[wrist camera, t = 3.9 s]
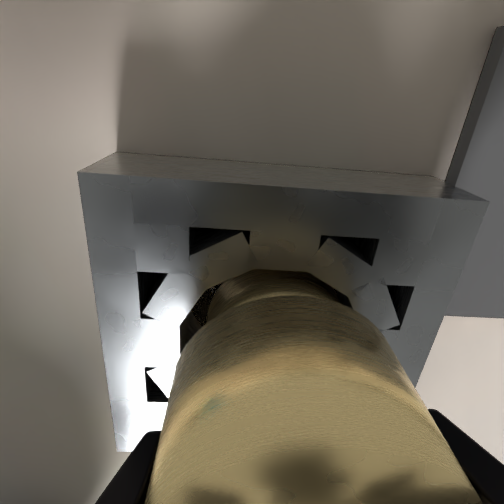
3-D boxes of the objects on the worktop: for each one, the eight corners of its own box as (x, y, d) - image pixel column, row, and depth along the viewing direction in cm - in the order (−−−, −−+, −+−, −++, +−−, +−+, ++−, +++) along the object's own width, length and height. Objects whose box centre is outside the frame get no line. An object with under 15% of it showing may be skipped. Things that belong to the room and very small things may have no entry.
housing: (137, 390, 16) (117, 451, 13) (116, 152, 11) (77, 172, 8) (363, 396, 17) (387, 456, 14) (433, 176, 12) (490, 201, 9)
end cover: (201, 387, 14) (168, 643, 8) (175, 250, 11) (89, 468, 5) (353, 375, 14) (451, 619, 8) (365, 235, 11) (535, 432, 5)
